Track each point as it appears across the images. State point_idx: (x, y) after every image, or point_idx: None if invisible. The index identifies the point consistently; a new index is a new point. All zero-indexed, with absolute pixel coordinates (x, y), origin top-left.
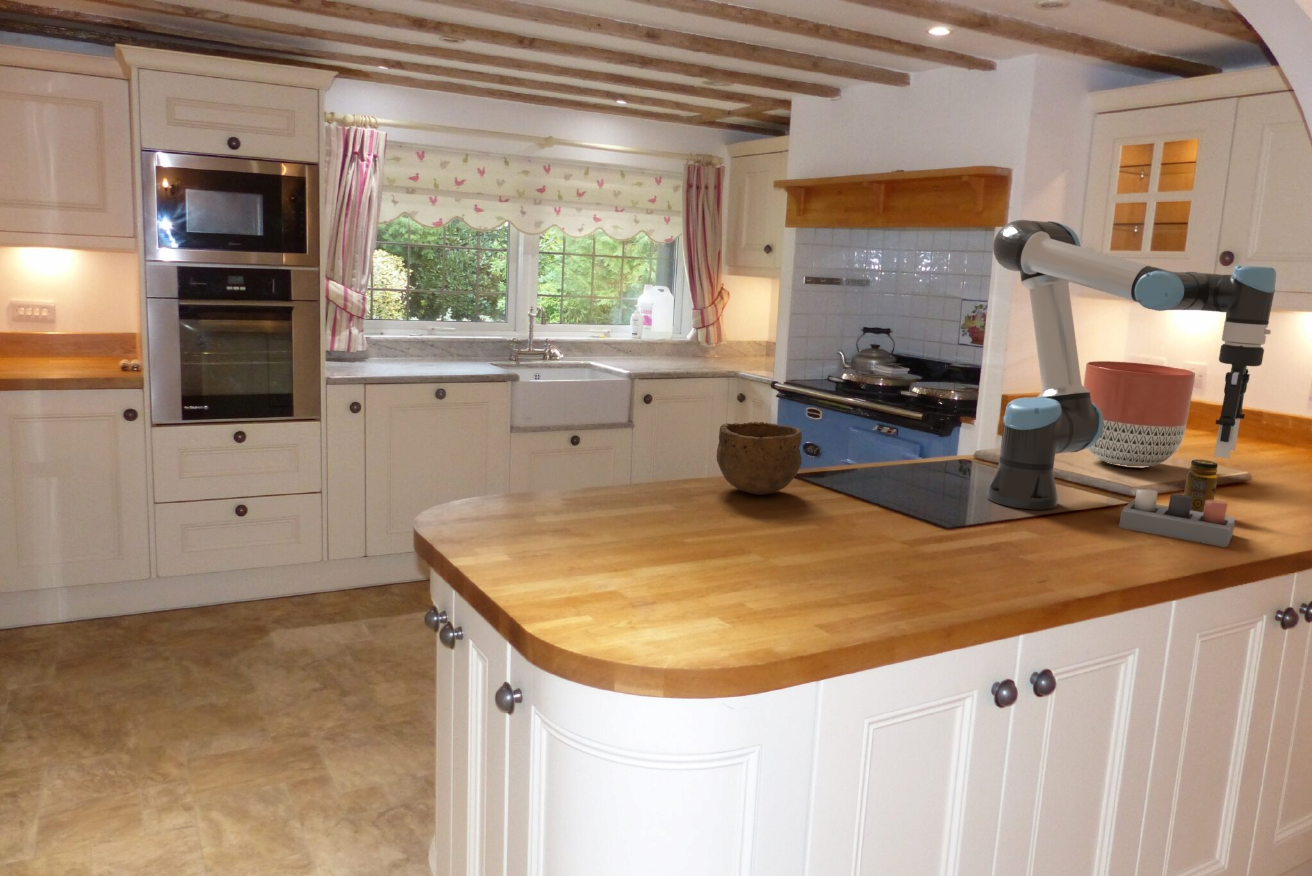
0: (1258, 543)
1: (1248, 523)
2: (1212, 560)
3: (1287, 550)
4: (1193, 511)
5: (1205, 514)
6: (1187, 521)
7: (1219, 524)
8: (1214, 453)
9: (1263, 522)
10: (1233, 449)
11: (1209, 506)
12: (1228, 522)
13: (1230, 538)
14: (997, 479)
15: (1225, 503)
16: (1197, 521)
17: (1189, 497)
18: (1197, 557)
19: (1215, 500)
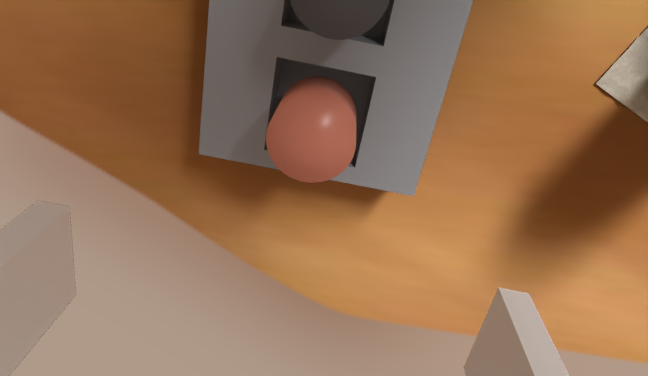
0: (336, 225)
1: (605, 235)
2: (17, 72)
3: (303, 282)
4: (442, 52)
5: (293, 88)
6: (231, 11)
7: (265, 130)
8: (22, 213)
9: (640, 278)
10: (467, 365)
11: (277, 108)
12: None
13: None
14: None
15: (310, 176)
16: (260, 53)
17: (338, 28)
18: (14, 28)
19: (349, 142)
